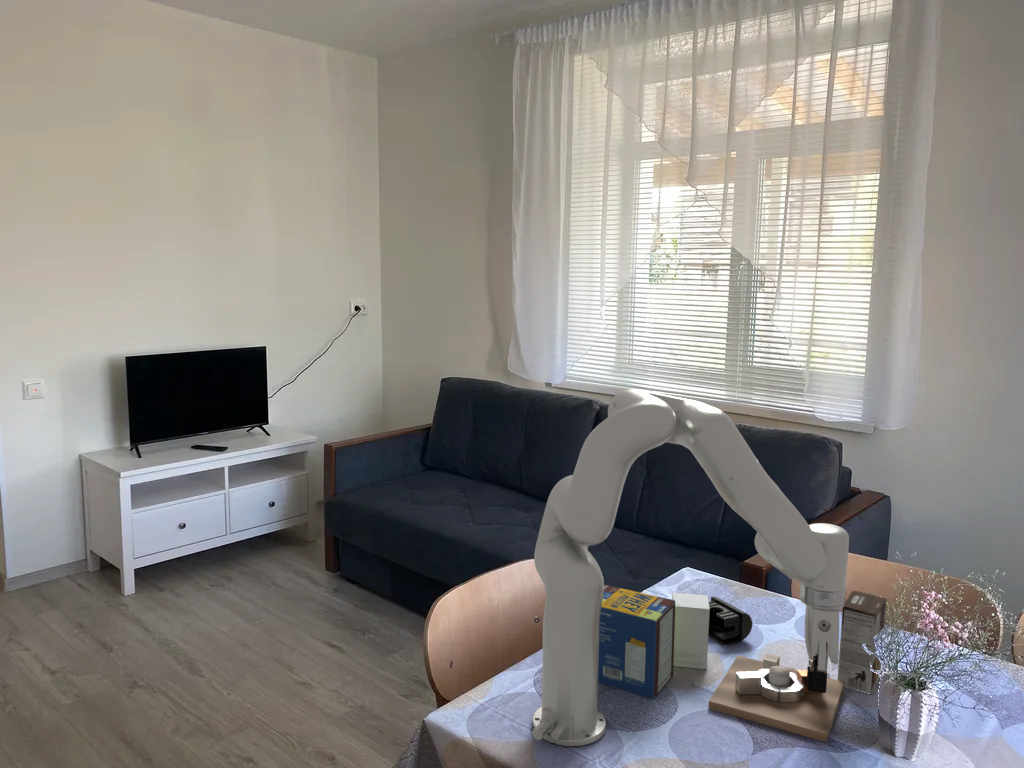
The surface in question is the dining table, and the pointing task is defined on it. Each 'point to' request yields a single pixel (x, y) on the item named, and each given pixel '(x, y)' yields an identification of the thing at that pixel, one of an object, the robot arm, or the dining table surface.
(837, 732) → the dining table surface
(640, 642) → the protein box
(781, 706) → the base
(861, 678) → the coffee box
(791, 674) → the segmented ring with arms
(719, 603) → the end cap
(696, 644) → the supplement box
